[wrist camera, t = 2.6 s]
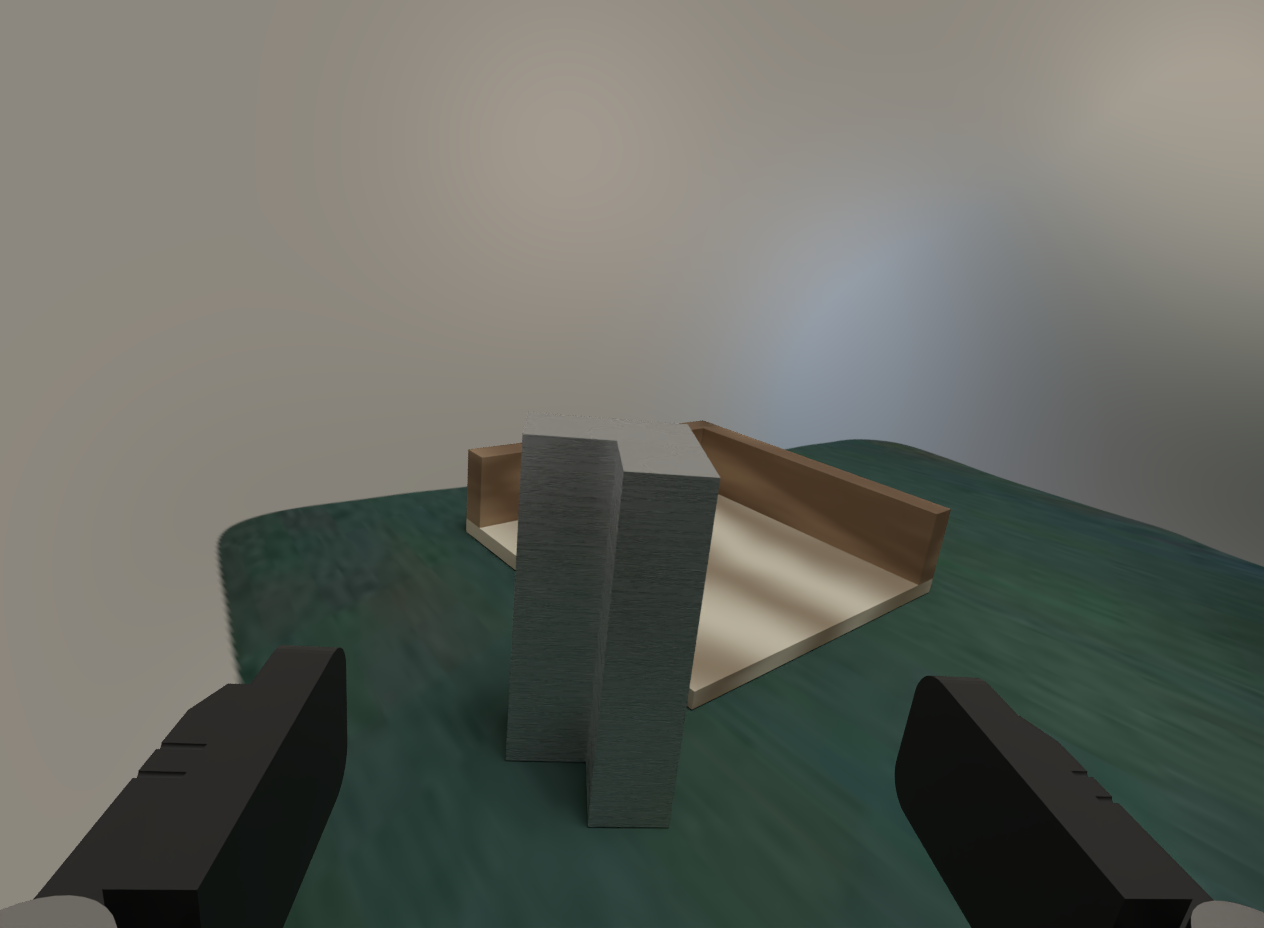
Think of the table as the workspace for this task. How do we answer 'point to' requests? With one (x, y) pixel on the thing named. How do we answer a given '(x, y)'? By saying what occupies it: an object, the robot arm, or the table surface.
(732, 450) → the wooden tray
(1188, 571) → the table surface
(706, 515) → the bracket
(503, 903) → the table surface
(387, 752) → the table surface
